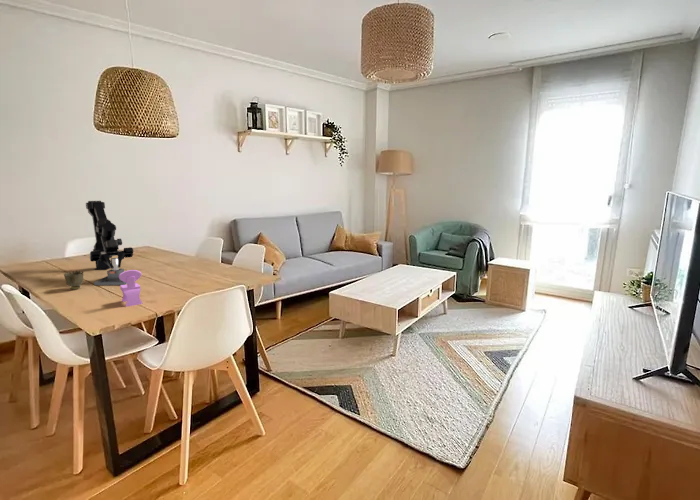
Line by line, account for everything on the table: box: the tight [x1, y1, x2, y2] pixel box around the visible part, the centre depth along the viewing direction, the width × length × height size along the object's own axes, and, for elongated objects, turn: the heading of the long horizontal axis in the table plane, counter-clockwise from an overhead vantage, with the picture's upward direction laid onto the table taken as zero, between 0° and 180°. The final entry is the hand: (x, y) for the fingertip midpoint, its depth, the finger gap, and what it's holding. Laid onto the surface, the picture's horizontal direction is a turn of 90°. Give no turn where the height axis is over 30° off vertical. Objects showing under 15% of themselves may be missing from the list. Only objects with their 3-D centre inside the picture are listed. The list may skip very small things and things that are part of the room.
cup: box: [63, 270, 84, 291], centre depth 175 cm, size 8×7×8 cm
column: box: [110, 257, 120, 271], centre depth 188 cm, size 4×4×12 cm
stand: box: [93, 268, 127, 286], centre depth 189 cm, size 14×14×6 cm
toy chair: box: [119, 269, 143, 308], centre depth 158 cm, size 8×9×15 cm
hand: (115, 267), depth 187 cm, fingers closed on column, 3 cm apart
